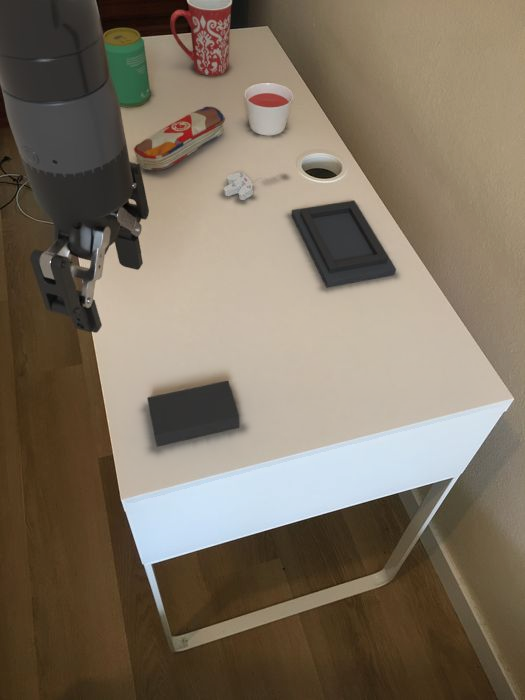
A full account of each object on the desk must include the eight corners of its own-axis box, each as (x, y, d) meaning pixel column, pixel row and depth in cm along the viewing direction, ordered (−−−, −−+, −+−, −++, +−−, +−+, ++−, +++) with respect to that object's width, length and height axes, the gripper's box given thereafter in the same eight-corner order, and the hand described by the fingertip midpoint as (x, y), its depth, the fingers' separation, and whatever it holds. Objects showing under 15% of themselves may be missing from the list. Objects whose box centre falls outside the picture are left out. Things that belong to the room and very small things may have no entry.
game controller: (215, 190, 98) (215, 177, 96) (262, 163, 103) (263, 150, 101) (239, 205, 96) (239, 192, 94) (285, 177, 101) (286, 164, 99)
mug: (228, 56, 128) (227, -11, 117) (236, 76, 123) (236, 8, 112) (171, 60, 126) (165, -8, 115) (177, 81, 121) (171, 11, 110)
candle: (291, 116, 114) (294, 84, 109) (289, 141, 108) (291, 109, 103) (246, 112, 114) (247, 81, 109) (241, 137, 108) (242, 105, 103)
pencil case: (121, 153, 104) (116, 127, 100) (209, 119, 112) (208, 95, 108) (154, 183, 99) (150, 157, 95) (244, 145, 107) (244, 120, 103)
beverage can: (131, 84, 119) (122, 22, 110) (159, 97, 116) (152, 35, 107) (102, 98, 115) (90, 36, 106) (129, 112, 112) (120, 49, 103)
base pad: (394, 274, 87) (397, 264, 85) (326, 287, 85) (328, 277, 83) (353, 205, 97) (355, 195, 95) (291, 215, 95) (292, 204, 93)
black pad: (228, 391, 73) (228, 380, 71) (239, 427, 69) (239, 417, 67) (149, 408, 71) (147, 397, 69) (157, 446, 67) (154, 436, 65)
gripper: (68, 209, 36) (113, 362, 49) (160, 100, 45) (178, 255, 58) (-35, 184, 38) (35, 340, 50) (74, 83, 46) (110, 238, 59)
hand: (111, 295), depth 54 cm, fingers open, 8 cm apart
